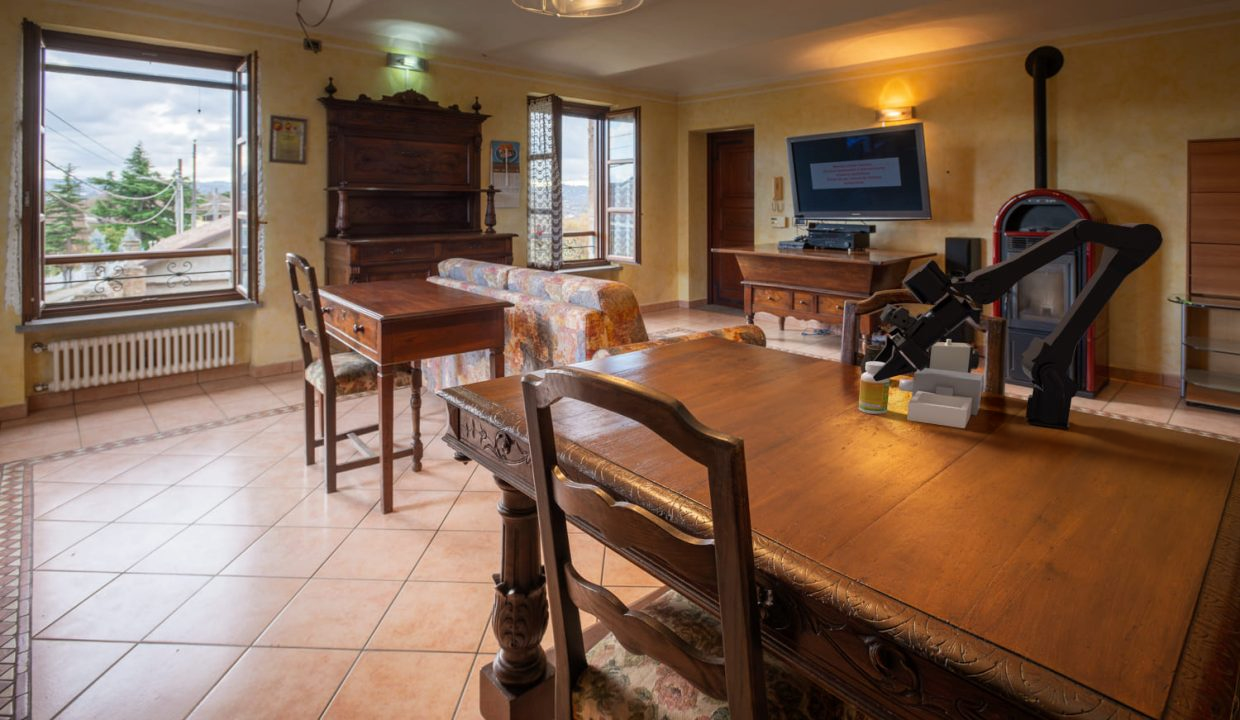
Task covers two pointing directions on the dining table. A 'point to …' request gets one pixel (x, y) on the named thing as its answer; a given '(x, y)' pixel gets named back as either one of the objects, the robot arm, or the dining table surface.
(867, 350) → the mate gourd
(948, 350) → the pneumatic valve
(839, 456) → the dining table surface
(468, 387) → the dining table surface
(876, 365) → the supplement bottle
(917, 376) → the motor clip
